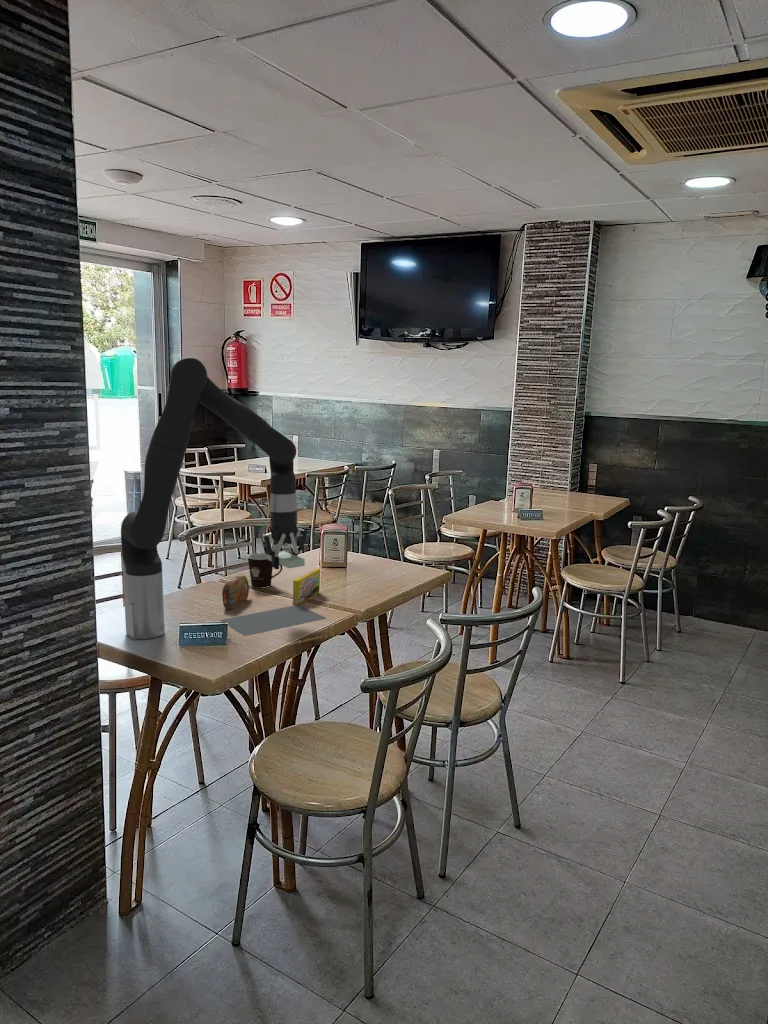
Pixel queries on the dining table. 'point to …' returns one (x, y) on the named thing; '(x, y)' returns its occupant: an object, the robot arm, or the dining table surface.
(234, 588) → the tin
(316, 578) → the candy box
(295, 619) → the mat
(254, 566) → the coffee mug
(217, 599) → the dining table surface
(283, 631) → the dining table surface
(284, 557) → the pale green box
